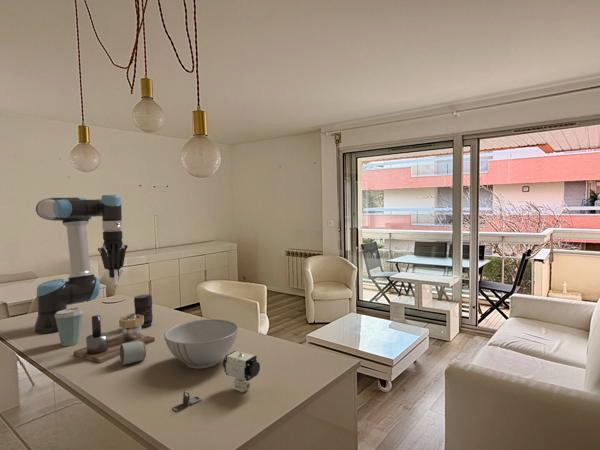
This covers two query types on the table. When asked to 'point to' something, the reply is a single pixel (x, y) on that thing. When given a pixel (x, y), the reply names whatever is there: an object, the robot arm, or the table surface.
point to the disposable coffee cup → (69, 325)
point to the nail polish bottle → (96, 338)
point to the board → (110, 348)
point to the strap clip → (187, 402)
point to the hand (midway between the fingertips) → (114, 284)
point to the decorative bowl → (201, 341)
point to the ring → (131, 321)
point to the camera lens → (144, 309)
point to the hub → (132, 332)
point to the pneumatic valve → (241, 369)
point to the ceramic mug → (132, 352)
